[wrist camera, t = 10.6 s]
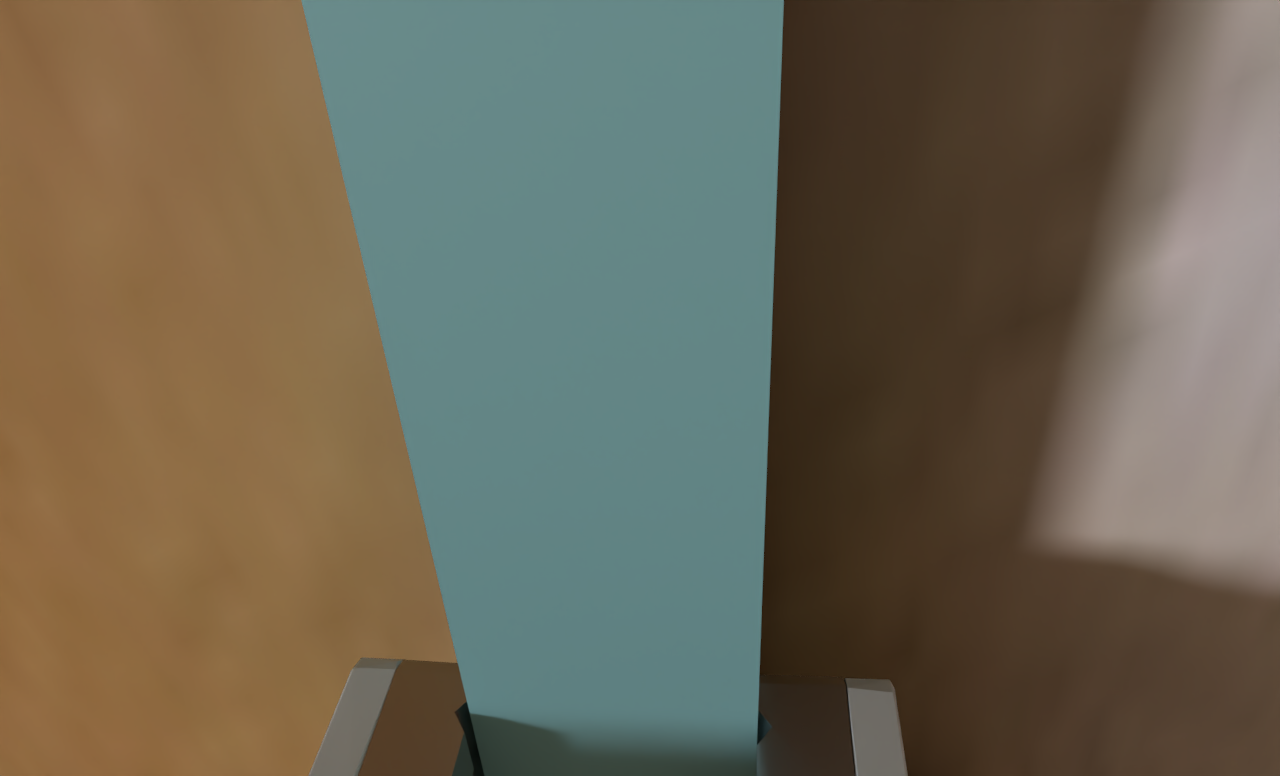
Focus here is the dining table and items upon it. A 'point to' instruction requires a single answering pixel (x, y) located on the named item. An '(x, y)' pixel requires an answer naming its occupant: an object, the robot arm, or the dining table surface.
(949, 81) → the dining table surface
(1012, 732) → the dining table surface
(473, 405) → the teal square bar
